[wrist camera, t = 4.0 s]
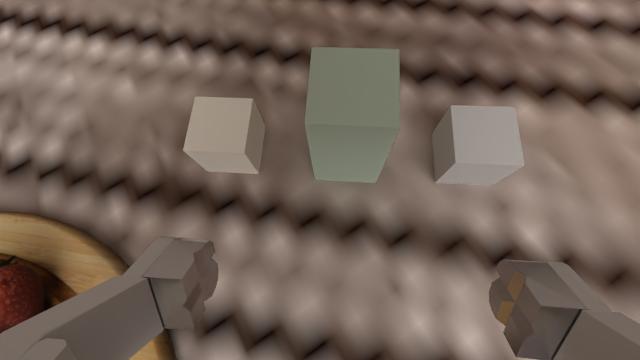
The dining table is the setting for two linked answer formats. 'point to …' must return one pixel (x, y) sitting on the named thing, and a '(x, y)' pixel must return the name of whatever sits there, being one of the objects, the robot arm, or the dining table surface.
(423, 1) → the dining table surface
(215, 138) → the cream block
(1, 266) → the wooden plate with food
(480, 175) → the grey block
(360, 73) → the sage-green pillar
